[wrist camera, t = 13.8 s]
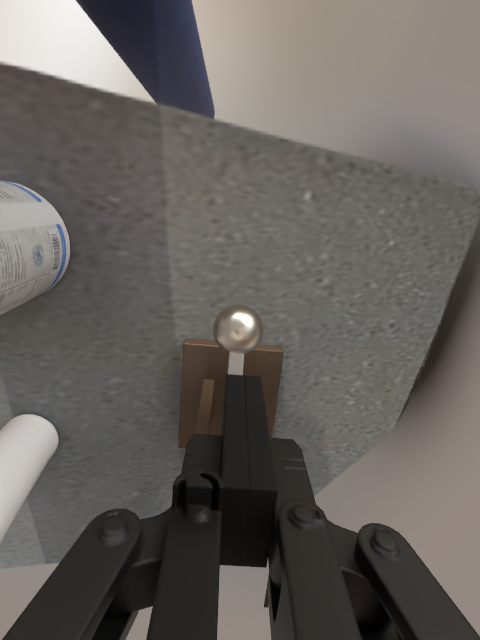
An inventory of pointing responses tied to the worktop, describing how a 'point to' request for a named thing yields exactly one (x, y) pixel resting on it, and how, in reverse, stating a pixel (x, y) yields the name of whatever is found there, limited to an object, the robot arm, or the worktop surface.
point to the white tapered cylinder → (22, 462)
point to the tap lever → (237, 334)
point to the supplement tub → (29, 245)
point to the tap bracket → (221, 385)
